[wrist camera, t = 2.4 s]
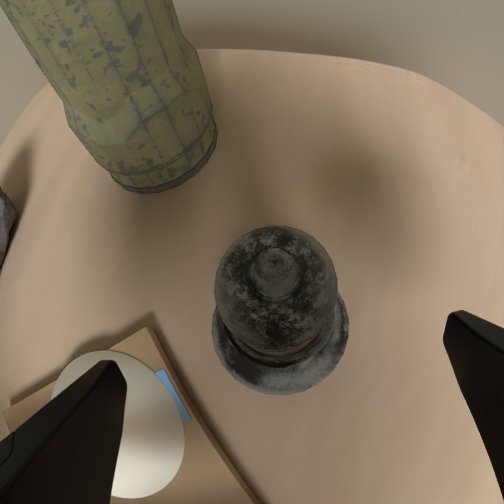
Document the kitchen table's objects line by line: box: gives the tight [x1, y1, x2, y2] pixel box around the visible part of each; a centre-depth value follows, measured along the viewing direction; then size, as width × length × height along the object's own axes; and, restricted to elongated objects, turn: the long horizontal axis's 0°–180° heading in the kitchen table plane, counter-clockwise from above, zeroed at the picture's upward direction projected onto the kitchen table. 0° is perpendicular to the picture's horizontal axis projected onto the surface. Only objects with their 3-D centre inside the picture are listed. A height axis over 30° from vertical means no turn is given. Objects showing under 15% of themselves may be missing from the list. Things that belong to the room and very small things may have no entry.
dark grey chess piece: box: [212, 226, 348, 395], centre depth 11 cm, size 6×6×12 cm
